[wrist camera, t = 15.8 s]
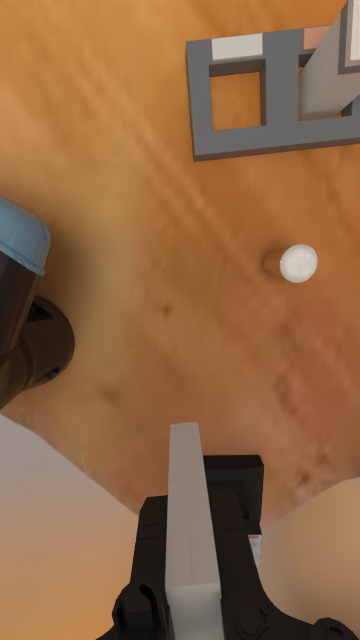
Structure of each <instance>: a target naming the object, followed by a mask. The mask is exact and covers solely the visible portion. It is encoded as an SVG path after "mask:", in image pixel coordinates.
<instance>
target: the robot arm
mask: <svg viewBox="0 0 360 640" xmlns="http://www.w3.org/2000/svg"><path fill="white" fill-rule="evenodd" d="M50 245H51V234H50V232H49V229H48V228H47V226H46V225H45V224H44V223H43V222H42V221H41V220H40V219H39V218H38V217H36V216H35V215H33V214H31V213H30V212H28V211H27V210H25V209H23V208H22V207H20V206H18V205H17V204H15V203H13V202H12V201H10V200H8V199H7V198H5V197H3V196H1V195H0V409H2V408H3V407H4V406H5V405H6V404H7V403H9V402H10V401H11V400H12V399H13V398H14V397H16V396H17V395H18V394H19V393H20V392H22V391H25V390H28V389H31V388H33V387H36V386H39V385H42V384H45V383H47V382H49V381H51V380H52V379H54V378H55V377H56V376H57V375H58V374H60V373H61V372H62V371H63V370H64V369H65V368H66V366H67V365H68V364H69V362H70V360H71V358H72V355H73V352H74V335H73V331H72V328H71V326H70V324H69V322H68V320H67V318H66V317H65V316H64V314H63V313H62V312H61V311H60V310H59V309H58V308H57V307H56V306H55V305H53V304H52V303H51V302H49V301H47V300H45V299H43V298H41V297H39V296H35V294H36V291H37V288H38V285H39V283H40V280H41V277H42V276H44V274H45V270H44V266H45V262H46V259H47V256H48V252H49V249H50ZM112 618H113V621H114V626H113V627H112V628H111V629H110V630H109V631H108V632H106V633H105V634H104V635H103V636H101V637H99V638H98V639H96V640H359V639H358V638H357V636H356V635H355V634H354V633H353V631H351V630H350V629H349V628H347V627H346V626H345V625H344V624H342V623H341V622H340V621H337V620H334V619H331V618H322V619H318V621H317V622H316V623H315V624H314V625H312V624H309V623H306V622H304V621H301V620H298V619H296V618H293V617H291V616H289V615H287V614H285V613H283V612H281V611H280V610H279V609H278V608H277V607H276V606H274V604H273V603H272V602H271V601H270V599H269V598H268V597H267V595H266V593H265V592H264V590H263V587H262V584H261V582H260V579H259V575H258V571H257V568H256V563H255V560H254V556H253V552H252V548H251V545H250V541H249V537H248V533H247V530H246V526H245V522H244V518H243V514H242V511H241V507H240V503H239V500H238V498H237V497H236V495H235V494H234V492H233V491H232V490H231V488H226V489H216V490H207V484H206V477H205V470H204V463H203V456H202V448H201V441H200V434H199V427H198V422H189V423H179V424H170V449H169V480H168V495H165V496H155V497H147V498H146V500H145V502H144V504H143V506H142V508H141V510H140V515H139V522H138V529H137V537H136V543H135V551H134V557H133V564H132V571H131V578H130V583H129V584H128V585H127V586H126V587H125V588H123V590H122V591H121V593H120V595H119V596H118V598H117V599H116V602H115V605H114V608H113V611H112Z"/></svg>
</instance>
